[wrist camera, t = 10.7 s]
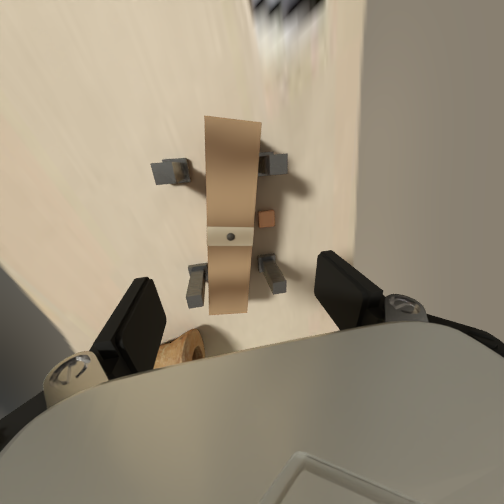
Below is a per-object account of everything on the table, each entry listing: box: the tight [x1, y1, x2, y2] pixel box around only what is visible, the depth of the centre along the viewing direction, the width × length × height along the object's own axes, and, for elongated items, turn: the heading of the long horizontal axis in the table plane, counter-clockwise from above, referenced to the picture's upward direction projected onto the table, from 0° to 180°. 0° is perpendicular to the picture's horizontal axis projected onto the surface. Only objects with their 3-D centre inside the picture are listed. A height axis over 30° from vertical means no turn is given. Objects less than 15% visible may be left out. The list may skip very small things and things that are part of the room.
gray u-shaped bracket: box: [151, 152, 288, 185], centre depth 19 cm, size 2×12×6 cm, turn 94°
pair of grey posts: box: [186, 254, 286, 309], centre depth 25 cm, size 2×12×6 cm, turn 94°
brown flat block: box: [258, 210, 275, 228], centre depth 25 cm, size 2×2×1 cm
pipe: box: [153, 329, 205, 369], centre depth 27 cm, size 9×16×10 cm, turn 105°
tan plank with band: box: [204, 116, 262, 315], centre depth 22 cm, size 20×5×6 cm, turn 176°
